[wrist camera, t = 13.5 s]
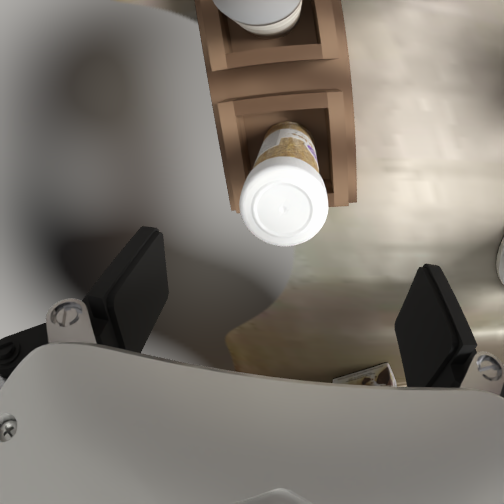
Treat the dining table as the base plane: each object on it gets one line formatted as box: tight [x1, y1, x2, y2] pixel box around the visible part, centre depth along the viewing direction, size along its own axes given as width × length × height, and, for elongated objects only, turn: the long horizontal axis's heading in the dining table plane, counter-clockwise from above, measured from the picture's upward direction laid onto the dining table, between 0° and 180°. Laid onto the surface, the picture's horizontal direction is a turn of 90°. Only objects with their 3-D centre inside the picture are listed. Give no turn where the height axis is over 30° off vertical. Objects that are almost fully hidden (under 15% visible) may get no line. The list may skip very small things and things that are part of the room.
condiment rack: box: [195, 0, 357, 213], centre depth 20 cm, size 24×12×11 cm, turn 8°
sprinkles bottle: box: [239, 121, 328, 246], centre depth 22 cm, size 5×5×13 cm
